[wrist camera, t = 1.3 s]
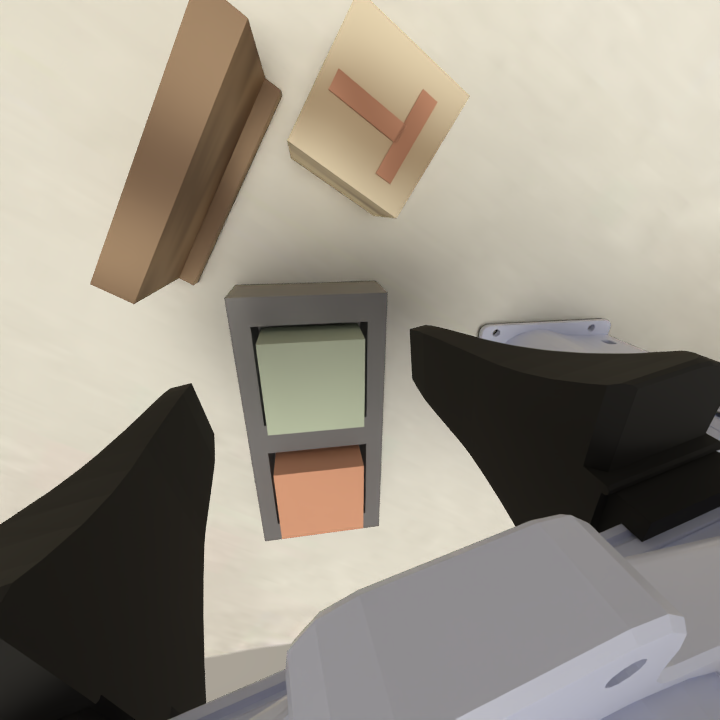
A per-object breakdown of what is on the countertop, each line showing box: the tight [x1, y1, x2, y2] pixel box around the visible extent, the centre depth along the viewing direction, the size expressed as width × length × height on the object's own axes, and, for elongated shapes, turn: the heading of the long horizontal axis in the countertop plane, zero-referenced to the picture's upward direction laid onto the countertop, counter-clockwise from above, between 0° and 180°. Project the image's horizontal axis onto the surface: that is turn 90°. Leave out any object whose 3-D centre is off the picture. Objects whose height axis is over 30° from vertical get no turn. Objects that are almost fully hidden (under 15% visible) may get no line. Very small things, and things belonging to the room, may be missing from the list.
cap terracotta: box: [274, 445, 364, 539], centre depth 22 cm, size 5×5×2 cm
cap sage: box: [256, 323, 365, 435], centre depth 18 cm, size 5×5×2 cm
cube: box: [287, 0, 470, 218], centre depth 15 cm, size 5×5×5 cm
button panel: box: [224, 281, 387, 541], centre depth 22 cm, size 8×17×3 cm, turn 0°
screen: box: [90, 0, 282, 304], centre depth 14 cm, size 10×3×6 cm, turn 148°
